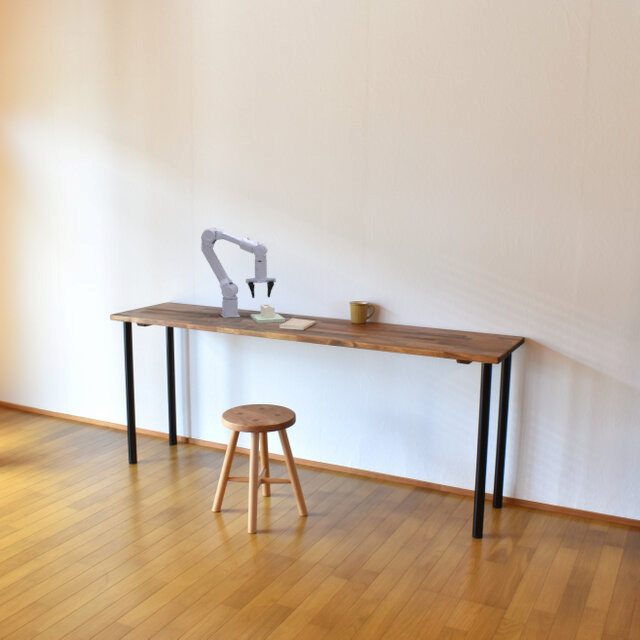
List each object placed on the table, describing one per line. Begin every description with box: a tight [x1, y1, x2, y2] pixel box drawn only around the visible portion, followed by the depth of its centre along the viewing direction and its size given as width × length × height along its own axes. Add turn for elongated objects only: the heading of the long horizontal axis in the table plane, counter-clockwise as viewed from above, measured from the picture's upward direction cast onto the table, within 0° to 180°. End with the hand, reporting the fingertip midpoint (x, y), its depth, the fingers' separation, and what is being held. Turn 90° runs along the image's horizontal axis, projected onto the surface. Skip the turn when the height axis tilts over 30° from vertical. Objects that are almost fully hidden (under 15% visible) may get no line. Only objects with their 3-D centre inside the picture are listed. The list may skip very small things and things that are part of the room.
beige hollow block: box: [260, 304, 276, 318], centre depth 372 cm, size 9×5×5 cm, turn 18°
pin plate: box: [250, 312, 286, 324], centre depth 373 cm, size 16×13×5 cm
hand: (261, 297), depth 380 cm, fingers open, 7 cm apart
